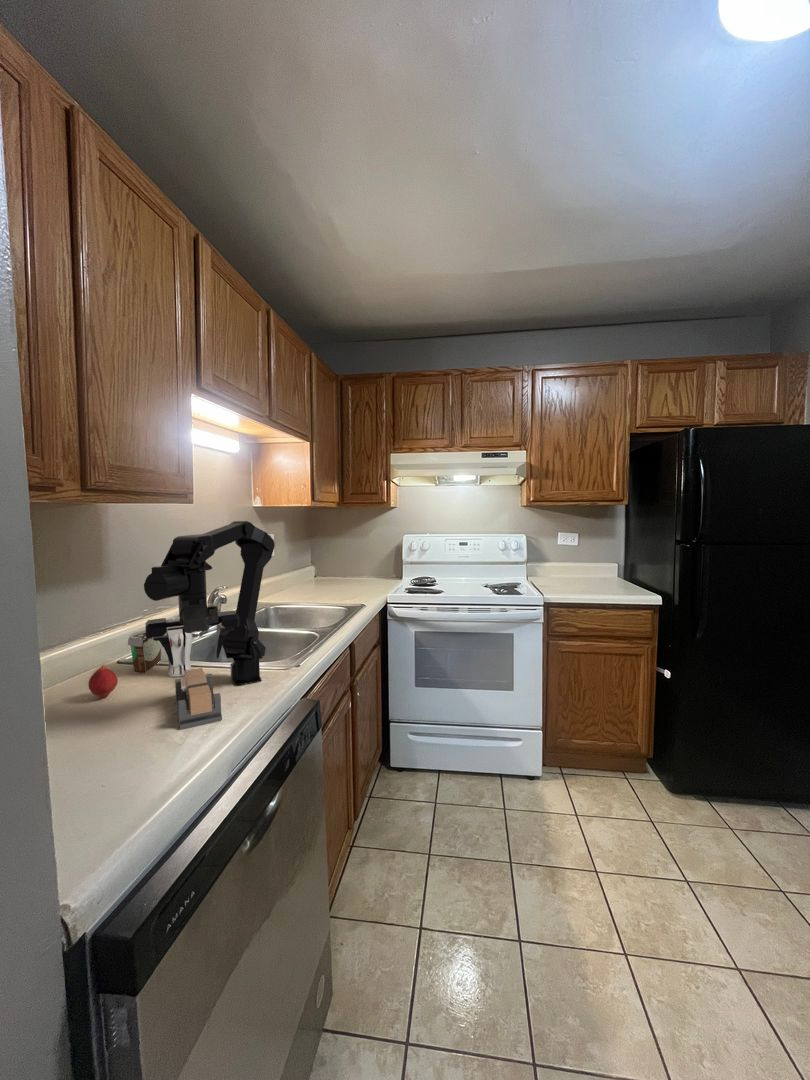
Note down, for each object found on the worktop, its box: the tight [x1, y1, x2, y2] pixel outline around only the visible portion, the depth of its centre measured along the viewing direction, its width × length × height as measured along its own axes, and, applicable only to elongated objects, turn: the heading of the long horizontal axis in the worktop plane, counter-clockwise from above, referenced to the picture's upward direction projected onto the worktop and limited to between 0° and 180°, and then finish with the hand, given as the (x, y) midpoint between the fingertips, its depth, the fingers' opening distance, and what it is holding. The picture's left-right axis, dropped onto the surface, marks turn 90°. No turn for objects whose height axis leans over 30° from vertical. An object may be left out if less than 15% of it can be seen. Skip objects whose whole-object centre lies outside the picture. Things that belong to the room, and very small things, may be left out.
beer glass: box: [166, 617, 193, 678], centre depth 126 cm, size 7×7×15 cm
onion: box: [87, 664, 118, 699], centre depth 110 cm, size 6×6×8 cm
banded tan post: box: [183, 667, 212, 715], centre depth 103 cm, size 4×18×4 cm, turn 30°
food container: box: [127, 629, 162, 674], centre depth 131 cm, size 12×6×10 cm, turn 4°
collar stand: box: [174, 673, 223, 731], centre depth 103 cm, size 8×18×5 cm, turn 29°
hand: (195, 661), depth 102 cm, fingers open, 9 cm apart
